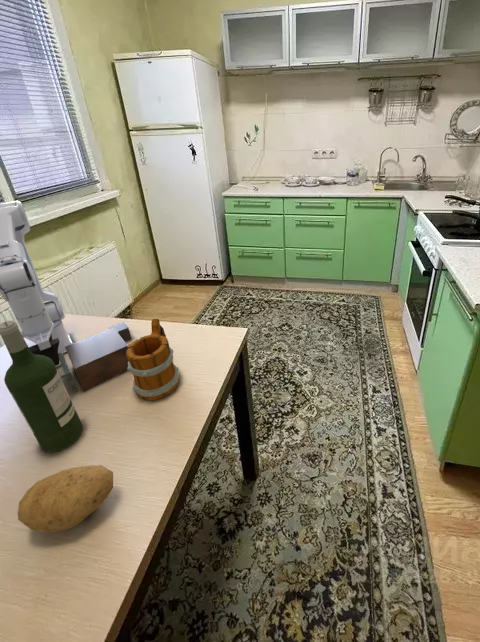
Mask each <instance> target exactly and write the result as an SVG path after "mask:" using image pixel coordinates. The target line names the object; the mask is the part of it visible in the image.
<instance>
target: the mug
mask: <svg viewBox="0 0 480 642" xmlns="http://www.w3.org/2000/svg"><path fill="white" fill-rule="evenodd" d="M150 325H151V333H150V334H146V335H143V336H140V337H139V339H135V340H134V341H132V342H131V343H130V344H129V345H128V349H127V351H126V356H127V358H128V361H129V362H128V367H127V369H128V370H127V371H129V372H130V373H131V374H132V376H133V380H132V381H133V382H132V384H133V386H132V390H133V391H135V393H136V395H137V396H138V397H139V398H140V399H143V400H146V401H155V400H156V401H157V400H159V399H163V398H164V397H166V396H169V395H170V394H172V393H173V392H174V391H175V390H176V388H177V387H178V385H179V381H180V373H179V370H180V368H179V367H178V366H177V365H175V363H174V350H173V348H171V346H170V342H169V340H168V338H167V335H166V333H165V329H164V327H163V326H162V325H161V322H160V319H159V318H152V319H151V324H150Z"/></svg>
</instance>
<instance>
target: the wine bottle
mask: <svg viewBox="0 0 480 642" xmlns="http://www.w3.org/2000/svg"><path fill="white" fill-rule="evenodd" d="M20 332H21V330H20V329H19V325H18V323H17V322H15V320H6V321H3V322H1V323H0V337H1V339H2V341H3V343H4V346H5V348H6V350H7V352H8V355H9V356H10V358H11V361H12V362H11V365H10V366H9V367H8V369H7V370H6V372H5V375H4V379H3V380H4V384H5V386H6V388H7V390H8V392H9V394H10V395H11V397H12V399H13V401H14V402H15V404H16V406H17V408H18V409H19V411H20V413H21V414H22V417H23V419H24V420H25V422H26V423H27V426H28V427H29V429H30V430H31V432H32V434H33V436H34V437H35V439H36V442H37V443H38V445H39V446H40V448H41V450H42V451H44V452H47V453H56V452H60V451H62V450H65V449H66V448H68V447H70V446H72V445H73V444H74V443H75V442H76V441H77V440H78V439H79V438H80V436H81V435H82V432H83V430H84V429H83V423H82V420H81V419H80V417H79V414H78V412H77V409H76V407H75V405H74V403H73V401H72V399H71V396H70V394H69V392H68V390H67V388H66V386H65V383H64V381H63V379H61V377H60V376H61V375H60V372H59V369H57V368H56V366H57V365H56V366H55V364H54V362H53V361H52V360H51V359H50V358H48V357H46V356H44V355H35V354H33V353H32V352H31V351H30V349H29V347H30V346H29V345H28V343H27V342H26V340H25V338H23V336H22V334H21V333H20Z"/></svg>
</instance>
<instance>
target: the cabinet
mask: <svg viewBox="0 0 480 642" xmlns="http://www.w3.org/2000/svg"><path fill="white" fill-rule="evenodd" d="M72 343H73V344H71V345H68V346H66V347H65V349H66V351H67V352H66V353H67V356H68V359H69V361H70V363H71V365H72V368H73V370H74V372H75V374H76V376H77V378H78V381H79V383H80V385H81V388H82V390H83V392H86V391H88V390H91V389H92V388H95V387H96V386H98V385H100V384H102V383H104V382H106V381H109V380H111V379H113V378H115V377H117V376H119V375H121V374H123V373H125V372H127V371H129V370H128V369H127V367H128V362H129V361H128V358H127V356H126V351H127V349H128V347H129V345H128V344H127V342H125V341H124V340H123V339H122V337H121V336H120V334H119V333H118V332H117V330H116V329H115V328H114V327H113V328H111V329H109V328H108V329H106V330H103V331H102V332H97V333H96V334H94V335H91V336H88V337H86V338H83V339H81V340H78V341H76V342H72Z"/></svg>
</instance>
